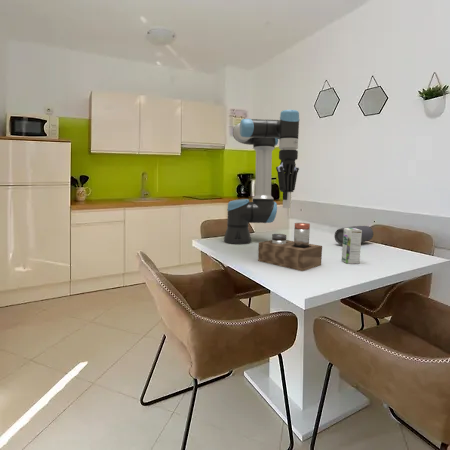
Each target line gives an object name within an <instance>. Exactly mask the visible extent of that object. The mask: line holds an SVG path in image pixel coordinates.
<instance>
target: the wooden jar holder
mask: <svg viewBox="0 0 450 450" xmlns="http://www.w3.org/2000/svg"><path fill="white" fill-rule="evenodd" d="M257 251H258V252H257V260H258V261H259V262H262V263H265V264H270V265H275V266H280V267H284V268H288V269H293V270H297V271H300V272H304V271H307V270H310V269H313V268H316V267H320V266H321V265H322V254H323V246H322V245H319V244H318V245H317V244H313V243H309V247H308V248H298V247H294V240H289V239H286V243H285V244H276V243H272V239H269V240H266V241H265V240H264V241H260V242H258V250H257Z"/></svg>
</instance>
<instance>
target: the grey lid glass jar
mask: <svg viewBox="0 0 450 450" xmlns="http://www.w3.org/2000/svg"><path fill="white" fill-rule="evenodd" d="M271 240H272V243H276V244H285V243H286V240H287V234H285V233H284V234H283V233H273V234H272V235H271Z"/></svg>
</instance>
